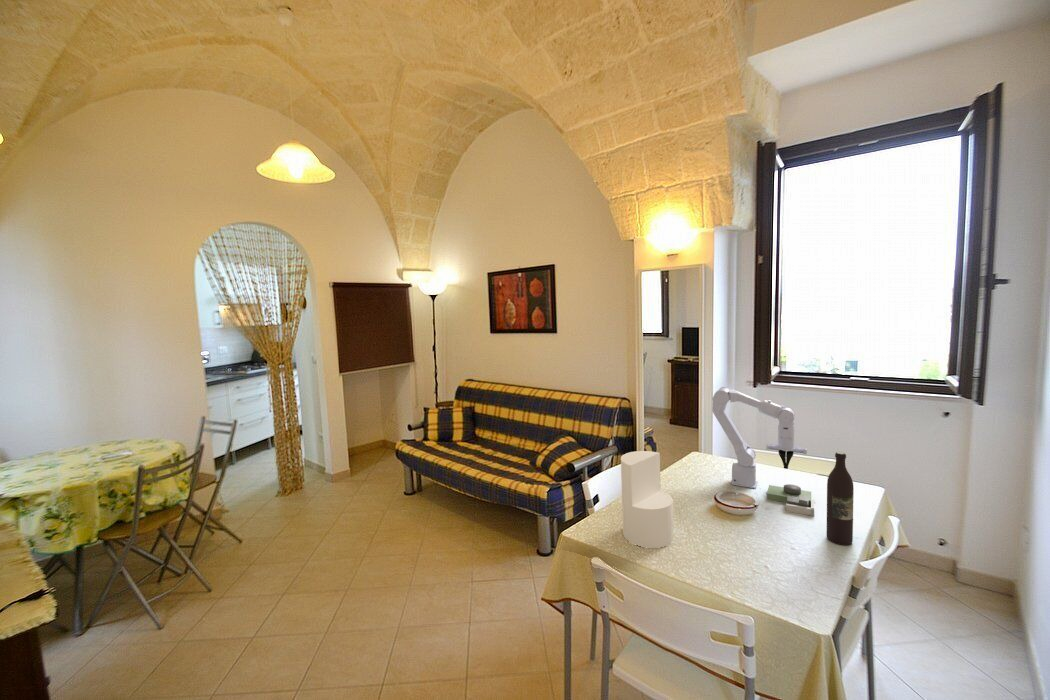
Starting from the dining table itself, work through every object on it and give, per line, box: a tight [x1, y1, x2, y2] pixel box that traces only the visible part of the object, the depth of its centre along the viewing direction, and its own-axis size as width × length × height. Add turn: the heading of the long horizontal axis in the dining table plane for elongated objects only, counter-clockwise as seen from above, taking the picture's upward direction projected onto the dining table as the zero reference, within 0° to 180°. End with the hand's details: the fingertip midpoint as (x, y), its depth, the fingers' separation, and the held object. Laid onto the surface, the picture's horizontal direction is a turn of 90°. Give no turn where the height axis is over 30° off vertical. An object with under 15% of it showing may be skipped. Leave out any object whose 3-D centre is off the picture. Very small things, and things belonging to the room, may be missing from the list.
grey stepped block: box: [786, 495, 809, 507], centre depth 167 cm, size 7×5×5 cm
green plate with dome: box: [766, 483, 815, 517], centre depth 171 cm, size 16×17×4 cm
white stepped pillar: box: [620, 450, 675, 549], centre depth 151 cm, size 17×17×28 cm
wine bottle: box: [826, 451, 854, 546], centre depth 142 cm, size 7×7×30 cm
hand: (786, 467), depth 182 cm, fingers closed
